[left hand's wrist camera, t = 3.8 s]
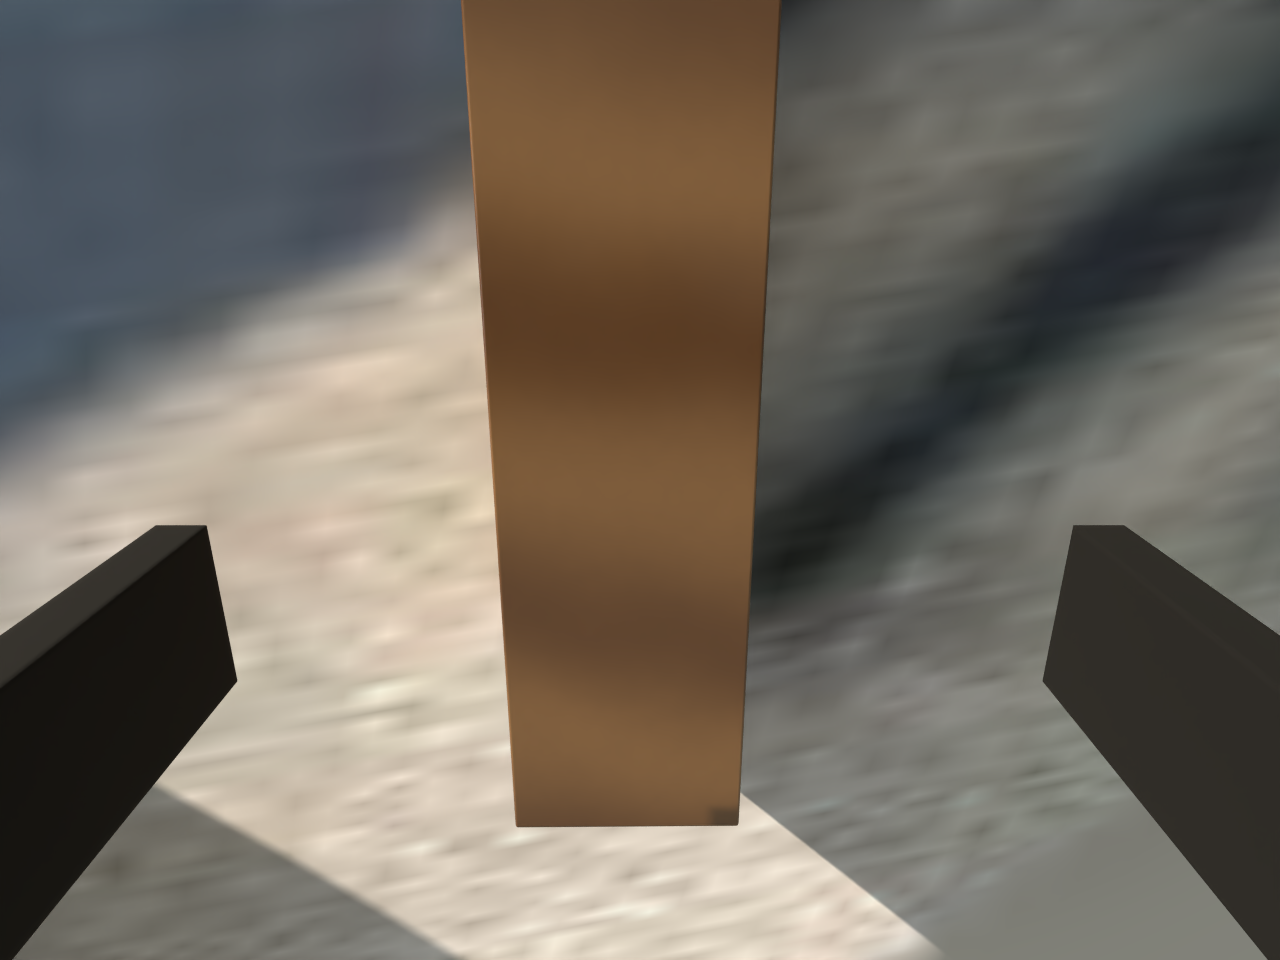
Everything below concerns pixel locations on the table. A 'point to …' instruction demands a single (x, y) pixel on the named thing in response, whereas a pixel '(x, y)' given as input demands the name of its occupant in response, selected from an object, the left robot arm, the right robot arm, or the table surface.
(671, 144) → the post
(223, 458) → the table surface
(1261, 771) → the left robot arm
